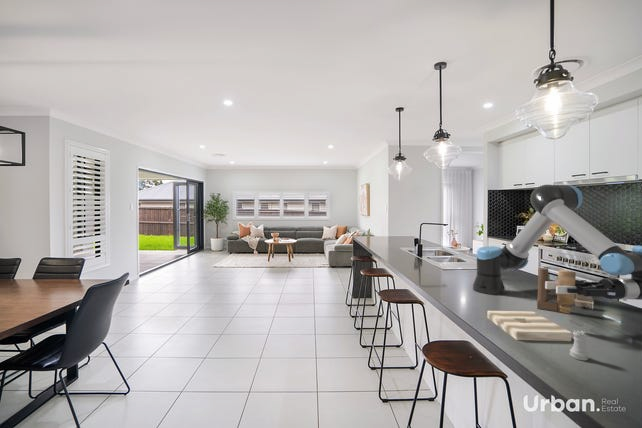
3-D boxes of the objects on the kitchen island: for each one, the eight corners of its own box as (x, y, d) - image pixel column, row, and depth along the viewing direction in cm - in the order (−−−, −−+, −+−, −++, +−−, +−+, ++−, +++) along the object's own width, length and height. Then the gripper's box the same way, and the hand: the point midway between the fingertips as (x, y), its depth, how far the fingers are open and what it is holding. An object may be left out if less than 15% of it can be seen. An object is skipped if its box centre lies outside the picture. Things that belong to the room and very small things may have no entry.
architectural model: (594, 311, 132) (594, 294, 131) (574, 308, 135) (574, 292, 135) (591, 309, 135) (592, 292, 134) (572, 306, 138) (572, 290, 138)
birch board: (487, 317, 123) (487, 310, 123) (532, 318, 122) (533, 311, 122) (516, 339, 103) (516, 331, 103) (571, 341, 102) (571, 332, 102)
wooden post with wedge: (568, 313, 127) (569, 271, 127) (537, 308, 133) (537, 268, 133) (567, 311, 130) (568, 270, 130) (536, 306, 136) (537, 267, 136)
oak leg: (552, 309, 114) (554, 270, 113) (567, 309, 114) (568, 270, 113) (563, 314, 109) (564, 273, 108) (578, 314, 108) (579, 273, 108)
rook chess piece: (565, 354, 93) (566, 328, 93) (578, 353, 93) (579, 328, 93) (579, 361, 89) (579, 334, 88) (592, 360, 89) (593, 334, 89)
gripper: (641, 307, 101) (569, 305, 102) (595, 291, 119) (534, 290, 120) (642, 285, 101) (570, 284, 102) (596, 272, 118) (535, 271, 120)
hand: (551, 287), depth 111 cm, fingers closed on oak leg, 5 cm apart
